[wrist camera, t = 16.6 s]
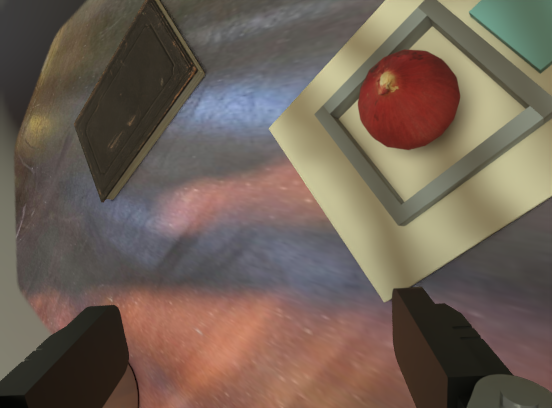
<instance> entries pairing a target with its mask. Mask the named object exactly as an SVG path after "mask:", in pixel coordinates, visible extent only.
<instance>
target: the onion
mask: <svg viewBox="0 0 552 408" xmlns="http://www.w3.org/2000/svg"><path fill="white" fill-rule="evenodd" d="M459 102H460V91H459V86H458V81H457V77H456V75H455V74H454V73H453V72H452V70H451V69H450V68H449V66H448V65H447V64H446V63H445V62H444V61H443V60H442V59H441V58H439V57H437V56H435V55H433V54H431V53H430V52H428V51H423V50H405V49H404V50H402V51H399V52H396V53H394V54H391V55H388V56H386V57H384V58H382V59H381V60H380V61H379V62H378V63H377V64H376V65H374V66H373V67H372V68H371V69H370V70H369V71H368V74H367V76H366V78H365V80H364V82H363V84H362V86H361V88H360V94H359V100H358V110H359V115H360V120H361V122H362V124H363V125H364V127H365V128H366V130H367V131H368V132H369V134H370V135H371V136H372V137H373V138H374V139H375V140H377V141H378V142H380V143H382V144H383V145H385V146H386V147H390V148H397V149H403V150H411V149H415V148H419V147H423V146H426V145H427V144H429V143H430V142H432V141H433V140H435V139H436V138H438V137H440V136H441V135H442V134H443V133H444V132H445V130H446V129H447V128H448V127H449V125H450V124H451V123H452V121H453V120H454V118H455V114H456V111H457V108H458V105H459Z"/></svg>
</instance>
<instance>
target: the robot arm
mask: <svg viewBox="0 0 552 408" xmlns="http://www.w3.org/2000/svg"><path fill="white" fill-rule="evenodd" d="M392 322H393V345H394V351H395V355H396V359H397V362H398V364H399V367H400V369H401V372H402V374H403V376H404V379H405V381H406V384H407V386H408V388H409V391H410V393H411V395H412V398H413V400H414V403H415V405H416V407H417V408H552V393H551V392H550V391H548V390H547V389H546V388H544V387H542V386H540V385H539V384H536V383H534V382H532V381H530V380H527V379H524V378H521V377H517V376H514V375H513V374H512V373H511V372H510V371H509V370H508V368H507V367H506V366H505V365H504V364H503V362H502V361H501V360H500V359H499V358H498V356H497V355H496V354H495V353H494V352H493V351H492V349H491V348H490V347H489V346H488V345H487V343H486V342H485V341H484V340H483V339H481V337H480V335H479V334H478V333H477V332H476V330H475V329H474V328H472V326H471V324H470V323H469V322H468V321H467V320H466V319H465V317H464V316H463V315H462V314H461V313H460V312H458V311H456V310H455V309H453V308H451V307H450V306H448V305H446V304H445V303H444V304H434V302H433V301H432V300H431V298H430V297H429V296H428V294H427V293H426V292H425V290H424V289H423V288H422V287H407V288H394V289H393V291H392ZM128 360H129V352H128V347H127V342H126V338H125V333H124V329H123V324H122V319H121V315H120V311H119V309H118V307H117V306H115V305H107V306H91V307H87V308H86V309H84V310H83V311H82V312H81V313H80V314H79V315H78V316H77V317H76V318H75V319H74V320H72V321H71V322H70V323H69V324H68V325H67V326H66V327H64V328H63V329H61V330H59V331H58V332H56V333H54V334H53V335H51V336H50V337H49V338H47V339H46V340H45V341H44V342H43V343H42V344H41V345H40V346H39V347H37V349H36V351H33V352H32V353H31V354H30V355H29V356H28V357H26V358H25V361H24V362H21V363H20V364H19V365H18V366H17V367H15V368H14V369H13V370H12V371H11V372H10V373H9V374H8V375H7V376H5V378H3V379H2V380H1V381H0V408H138V392H137V386H136V381H135V378H134V375H133V372H132V370H131V368H130V366H129V365H128Z"/></svg>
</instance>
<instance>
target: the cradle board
mask: <svg viewBox="0 0 552 408" xmlns="http://www.w3.org/2000/svg"><path fill="white" fill-rule="evenodd" d="M404 49H405V50H423V51H428V52H430V53H431V54H433V55H435V56H437V57H439V58H441V59H442V60H443V61H444V62H445V63H446V64H447V65H448V66H449V68H450V69H451V70H452V72H453V73H454V74H455V75H456V77H457V81H458V86H459V91H460V102H459V105H458V108H457V111H456V114H455V118H454V120H453V121H452V123H451V124H450V125H449V127H448V128H447V129H446V130H445V132H444V133H443V134H442V135H441V136H440V137H438V138H436V139H435V140H433V141H432V142H430V143H429V144H427V145H426V146H423V147H419V148H415V149H411V150H403V149H397V148H390V147H386V146H385V145H383V144H382V143H380V142H378V141H377V140H375V139H374V138H373V137H372V136H371V135H370V134H369V132H368V131H367V130H366V128H365V127H364V125H363V124H362V122H361V120H360V115H359V110H358V100H359V94H360V88H361V86H362V84H363V82H364V80H365V78H366V76H367V74H368V71H369V70H370V69H371V68H372V67H373V66H374V65H376V64H377V63H378V62H379V61H380V60H381V59H382V58H384V57H386V56H388V55H391V54H394V53H396V52H399V51H402V50H404ZM269 130H270V131H271V133H272V134H273V136H274V137H275V139H276V140H277V142H278V143H279V145H280V146H281V148H282V149H283V151H284V152H285V154H286V155H287V157H288V158H289V160H290V161H291V163H292V164H293V166H294V167H295V169H296V170H297V172H298V173H299V175H300V177H301V178H302V180H303V181H304V183H305V184H306V186H307V187H308V189H309V190H310V192H311V193H312V195H313V196H314V198H315V199H316V201H317V202H318V204H319V205H320V207H321V208H322V210H323V211H324V213H325V214H326V216H327V217H328V219H329V220H330V222H331V223H332V225H333V226H334V228H335V229H336V231H337V232H338V234H339V235H340V237H341V238H342V240H343V241H344V243H345V244H346V246H347V247H348V249H349V250H350V252H351V253H352V255H353V256H354V258H355V259H356V261H357V262H358V264H359V265H360V267H361V268H362V270H363V271H364V273H365V274H366V276H367V277H368V279H369V280H370V282H371V283H372V285H373V286H374V288H375V289H376V291H377V292H378V294H379V295H380V297H381V298H382V300H383V301H384V303H385V302H387V301H389V300H391V299H392V291H393V289H394V288H407V287H411V286H413V285H414V284H416V283H417V282H419V281H420V280H422V279H424V278H425V277H427V276H428V275H430V274H431V273H433V272H434V271H436V270H438V269H439V268H441V267H442V266H444V265H445V264H447V263H449V262H450V261H452V260H453V259H455V258H456V257H458V256H460V255H461V254H463V253H464V252H466V251H467V250H469V249H471V248H472V247H474V246H475V245H477V244H478V243H480V242H481V241H483V240H485V239H486V238H488V237H489V236H491V235H492V234H494V233H496V232H497V231H499V230H500V229H502V228H503V227H505V226H507V225H508V224H510V223H511V222H513V221H514V220H516V219H518V218H519V217H521V216H522V215H524V214H525V213H527V212H528V211H530V210H532V209H533V208H535V207H536V206H538V205H539V204H541V203H543V202H544V201H546V200H547V199H549V198H550V197H552V0H385V1H384V3H383V4H382V5H381V6H380V7H379V8H378V9H377V10H376V11H375V12H374V13H373V15H372V16H371V17H370V18H369V19H368V20H367V21H366V22H365V23H364V24H363V26H362V27H361V28H360V29H359V30H358V31H357V32H356V33H355V34H354V35H353V37H352V38H351V39H350V40H349V41H348V42H347V43H346V44H345V45H344V46H343V48H342V49H341V50H340V51H339V52H338V53H337V54H336V55H335V56H334V57H333V58H332V60H331V61H330V62H329V63H328V64H327V65H326V66H325V67H324V68H323V69H322V71H321V72H320V73H319V74H318V75H317V76H316V77H315V78H314V79H313V80H312V82H311V83H310V84H309V85H308V86H307V87H306V88H305V89H304V90H303V91H302V92H301V94H300V95H299V96H298V97H297V98H296V99H295V100H294V101H293V102H292V103H291V105H290V106H289V107H288V108H287V109H286V110H285V111H284V112H283V113H282V114H281V116H280V117H279V118H278V119H277V120H276V121H275V122H274V123H273V124H272V125H271V126H270V128H269Z"/></svg>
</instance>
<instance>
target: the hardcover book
mask: <svg viewBox="0 0 552 408" xmlns="http://www.w3.org/2000/svg"><path fill="white" fill-rule="evenodd" d="M204 76H205V73H204V71H203V70H202V68H201V67H200V65H199V63H198V62H197V60H196V59H195V57H194V55H193V54H192V52H191V51H190V49H189V47H188V46H187V44H186V42H185V41H184V39H183V38H182V36H181V34H180V33H179V31H178V30H177V28H176V26H175V25H174V23H173V22H172V20H171V18H170V17H169V15H168V14H167V12H166V10H165V9H164V7H163V5H162V4H161V2H160V1H159V0H145V1H144V3H143V5H142V6H141V8H140V10H139V11H138V13H137V15H136V17H135V18H134V20H133V22H132V24H131V25H130V27H129V29H128V31H127V32H126V34H125V36H124V38H123V39H122V41H121V43H120V44H119V46H118V48H117V50H116V51H115V53H114V55H113V57H112V58H111V60H110V62H109V64H108V65H107V67H106V69H105V71H104V72H103V74H102V76H101V77H100V79H99V81H98V83H97V84H96V86H95V88H94V90H93V91H92V93H91V95H90V97H89V98H88V100H87V102H86V104H85V105H84V107H83V109H82V110H81V112H80V114H79V116H78V117H77V119H76V121H75V123H74V126H75V129H76V132H77V134H78V137H79V140H80V143H81V146H82V149H83V151H84V154H85V157H86V160H87V163H88V166H89V168H90V171H91V174H92V177H93V180H94V183H95V186H96V188H97V191H98V194H99V197H100V200H101V202H104V201H105V200H106V199H111V200H113V199H114V198H115V197H116V195H117V194H118V193H119V191H120V190H121V189H122V187H123V186H124V185H125V183H126V182H127V180H128V179H129V178H130V176H131V175H132V174H133V172H134V171H135V170H136V168H137V167H138V165H139V164H140V163H141V161H142V160H143V159H144V157H145V156H146V155H147V153H148V152H149V150H150V149H151V148H152V146H153V145H154V144H155V142H156V141H157V140H158V138H159V137H160V136H161V134H162V133H163V131H164V130H165V129H166V127H167V126H168V125H169V123H170V122H171V121H172V119H173V118H174V116H175V115H176V114H177V112H178V111H179V110H180V108H181V107H182V106H183V104H184V103H185V101H186V100H187V99H188V97H189V96H190V95H191V93H192V92H193V91H194V89H195V88H196V87H197V85H198V84H199V82H200V81H201V80H202V78H203V77H204Z"/></svg>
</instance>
